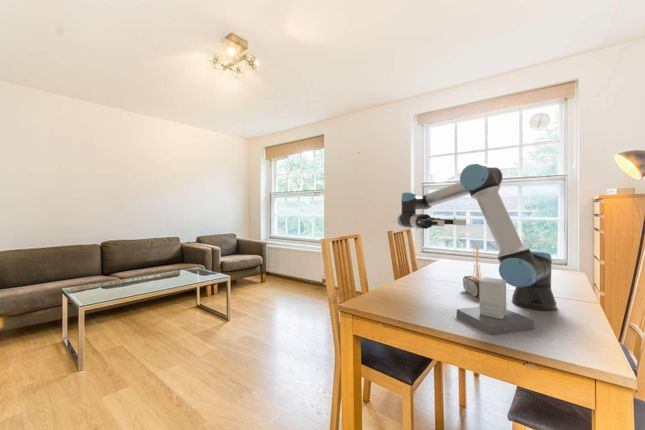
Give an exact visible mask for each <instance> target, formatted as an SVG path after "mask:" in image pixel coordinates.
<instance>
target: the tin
mask: <svg viewBox="0 0 645 430" xmlns="http://www.w3.org/2000/svg"><path fill="white" fill-rule="evenodd" d="M462 285H463V289H464V291H465V292H466V294H468V295H470V296H471V297H473V298H474V299H477V298H478V299H479V279H478V278H476V277H474V276H472V275H466V276H464V277H463V278H462Z"/></svg>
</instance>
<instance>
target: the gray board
mask: <svg viewBox="0 0 645 430" xmlns="http://www.w3.org/2000/svg"><path fill="white" fill-rule="evenodd" d="M456 317H457V318H458V319H461V321H464V322H465V323H468V324H470V325H471V326H472V327H473V326H474V327H475V328H478V329H479V330H481V331H483V332H485V333H487V334H489V335H490V336H493V335H499V334H507V333H514V332H521V331H528V330H534V329H535V319H532V318H530V317H526V316H524V315H522V314H519V313H518V312H515V311H512V310H509V309H507V308H506V315H505V316H504V318H503V319H498V318H494V317H489V316H485V315H480V306H472V307H471V306H470V307H463V308H457V309H456Z"/></svg>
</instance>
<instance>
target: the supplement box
mask: <svg viewBox="0 0 645 430" xmlns="http://www.w3.org/2000/svg"><path fill="white" fill-rule="evenodd" d="M478 280H479V279H478ZM478 299H479V303H478V304H479V306H480V315H485V316H489V317H494V318H498V319H503V318H504V316H505V315H506V309H507V283H506V280H503V279H502V278H495V277H487V276H484V277H481V279H480V280H479V298H478ZM479 306H478V307H479Z"/></svg>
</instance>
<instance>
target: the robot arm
mask: <svg viewBox="0 0 645 430" xmlns="http://www.w3.org/2000/svg"><path fill="white" fill-rule="evenodd" d="M502 181H503V172H502V171H501V169H500V168H498V167H497V166H495V165H491V164H490V165H489V164H485V163H481V162H478V163H477V162H475V163H470V164H468V165H467V166H465V167H463V169H462V170H461V173H460V176H459V181H458V182H456V183H452V184H450V185H448V186H444V187H443V188H440V189H436V190H435V191H432V192H429V193H427V194H426V193H425V194H423V195H420V196H418V195H416V193H415V192H414V191H413V192H412V191H411V192H410V191H409V192H408V191H407V192H403V193H401V199H400V201H401V213H400V214H399V216H398V217H397V224H398V225H399V226H400V227H404V228H409V229H410V228H411V229H412V228H414V229H416V230H418V229H425V230H427V229H429V228H432V227H443V228H444V227H445V225H453V226H467V219H457V218H456V217H454V218H453V219H451V218H449V219H448V218H439V217H437V218H435V217H431V216H430V215H429V214H428V213H427V214H426V213H424V214H423V213H422V214H421V213H416V211H417V210H429V209H430V208H431V209H432V207H434V206H437V205H441V204H443V203H447V202H449V201H453V200H455V199H459V198H462V197H465V196H470V197H471V199H474V200H476V201H477V203H478V206H479V207H480V208H479V209H480V210H481V213H482V215H483V217H484V220H485V221H486V222H485V223H486V224H487V227H488V228H489V230H490V231H489V232H490V233H491V236H492V237H493V241H494V243H495V245H496V246H497V247H496V248H497V249H498V251H499V253H498V255H497V259H498V262H499V267H498V273H499V276H500V277H501V278H500V279H503V280H506V284H508V285H509V286H511V287H515V290H513V294H512V296H511V300H512V303H513V304H514V305H517V306H520V307H522V308H527V309H530V310H537V311H554V310H556V309H557V301H556V300H555V295H554V294H553V293H554V292H553V291H552V262H553V260H552V255H551V253H549V252H543V251H531V249H530V247H527V246H525V245H523V242H522V240H521V238H520V236H519V233H518V232H517V230H516V227H515V225H514V224H513V220H512V219H511V217H510V214H509V213H508V210H507V208H506V206H505V203H504V202H503V200H502V197H501V196H500V194H499V191H500V189H501V184H502Z"/></svg>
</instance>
